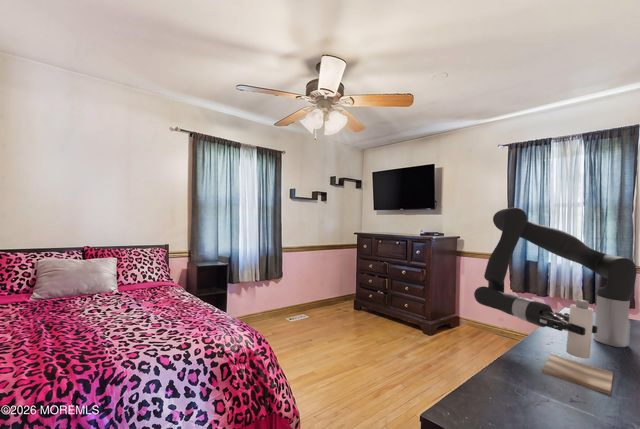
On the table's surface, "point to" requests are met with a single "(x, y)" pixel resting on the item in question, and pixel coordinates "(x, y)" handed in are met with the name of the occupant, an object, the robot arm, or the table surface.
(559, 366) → the oak board
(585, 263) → the robot arm
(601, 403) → the table surface
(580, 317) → the lotion bottle
